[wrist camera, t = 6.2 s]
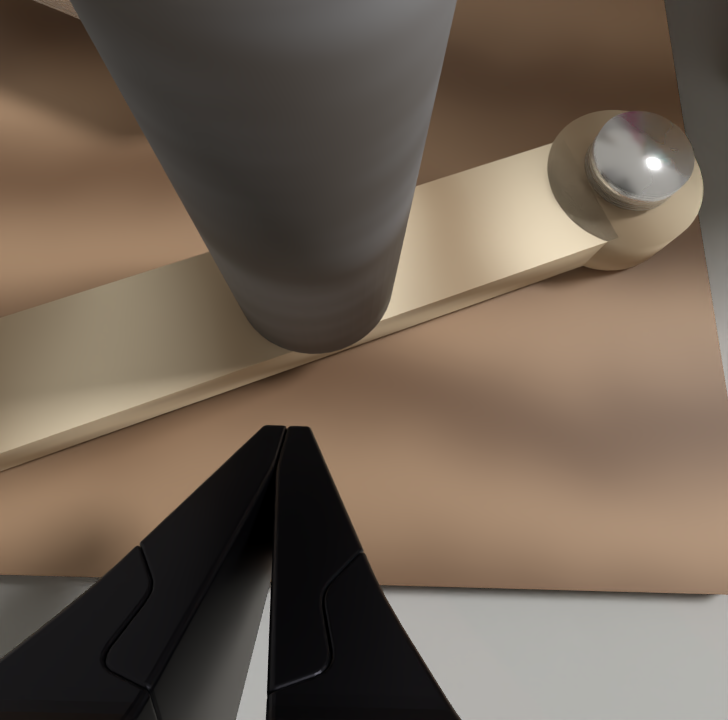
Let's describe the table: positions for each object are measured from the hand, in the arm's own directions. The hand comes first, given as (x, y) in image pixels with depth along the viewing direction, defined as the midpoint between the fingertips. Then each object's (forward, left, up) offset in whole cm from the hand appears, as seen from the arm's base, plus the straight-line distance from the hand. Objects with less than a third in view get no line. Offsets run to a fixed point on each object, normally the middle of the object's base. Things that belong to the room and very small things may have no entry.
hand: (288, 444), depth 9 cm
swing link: (+4, +3, -5) cm, 7 cm away
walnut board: (+7, +6, -7) cm, 11 cm away
